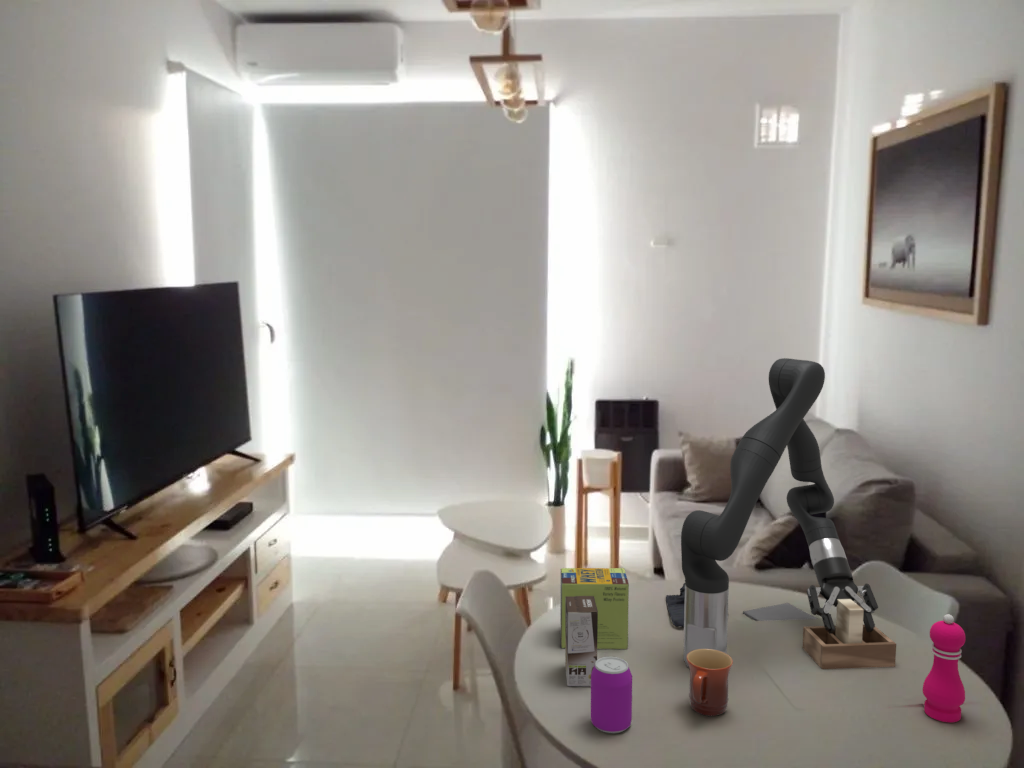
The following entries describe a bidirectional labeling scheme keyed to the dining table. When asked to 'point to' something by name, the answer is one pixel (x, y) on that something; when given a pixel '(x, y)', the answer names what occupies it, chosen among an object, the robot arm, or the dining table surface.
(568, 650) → the coffee box
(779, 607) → the rubber mat
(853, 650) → the walnut box
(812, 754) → the dining table surface
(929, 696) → the pepper mill
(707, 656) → the mug
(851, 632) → the ash block
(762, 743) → the dining table surface
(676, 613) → the dark slate chunk
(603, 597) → the protein box
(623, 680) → the beverage can
